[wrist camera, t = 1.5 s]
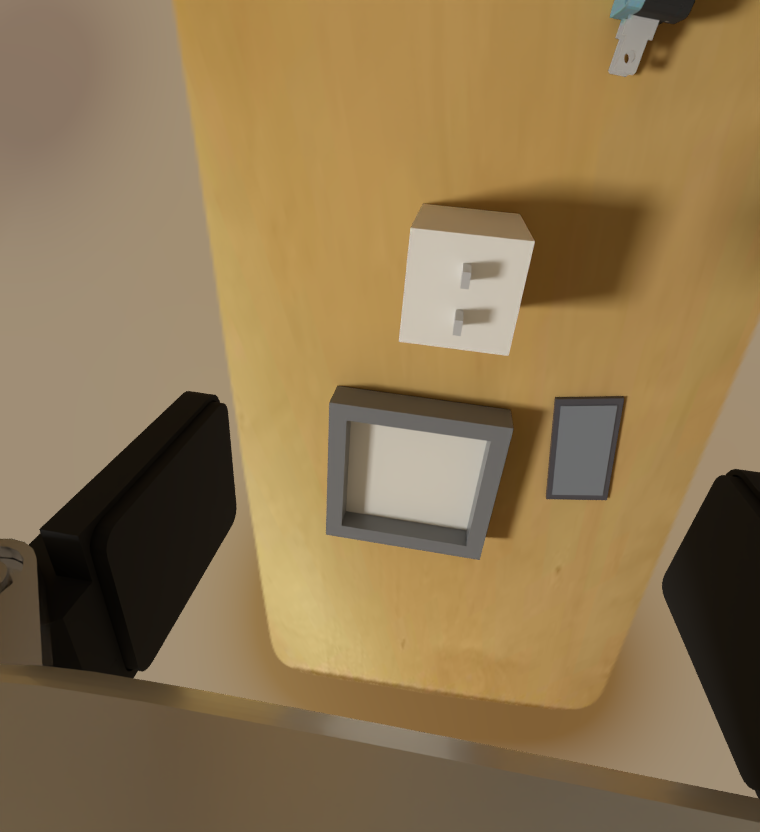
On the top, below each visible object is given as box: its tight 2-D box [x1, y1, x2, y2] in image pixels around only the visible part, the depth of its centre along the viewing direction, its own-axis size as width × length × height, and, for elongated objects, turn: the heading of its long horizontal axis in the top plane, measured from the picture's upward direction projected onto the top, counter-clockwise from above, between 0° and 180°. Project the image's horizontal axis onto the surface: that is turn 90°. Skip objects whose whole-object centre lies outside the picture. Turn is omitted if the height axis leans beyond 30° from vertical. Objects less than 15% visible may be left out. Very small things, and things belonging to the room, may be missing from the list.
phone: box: [546, 396, 624, 500], centre depth 29 cm, size 7×4×1 cm, turn 6°
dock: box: [326, 386, 514, 560], centre depth 30 cm, size 10×10×2 cm
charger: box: [399, 204, 535, 356], centre depth 21 cm, size 5×4×7 cm
